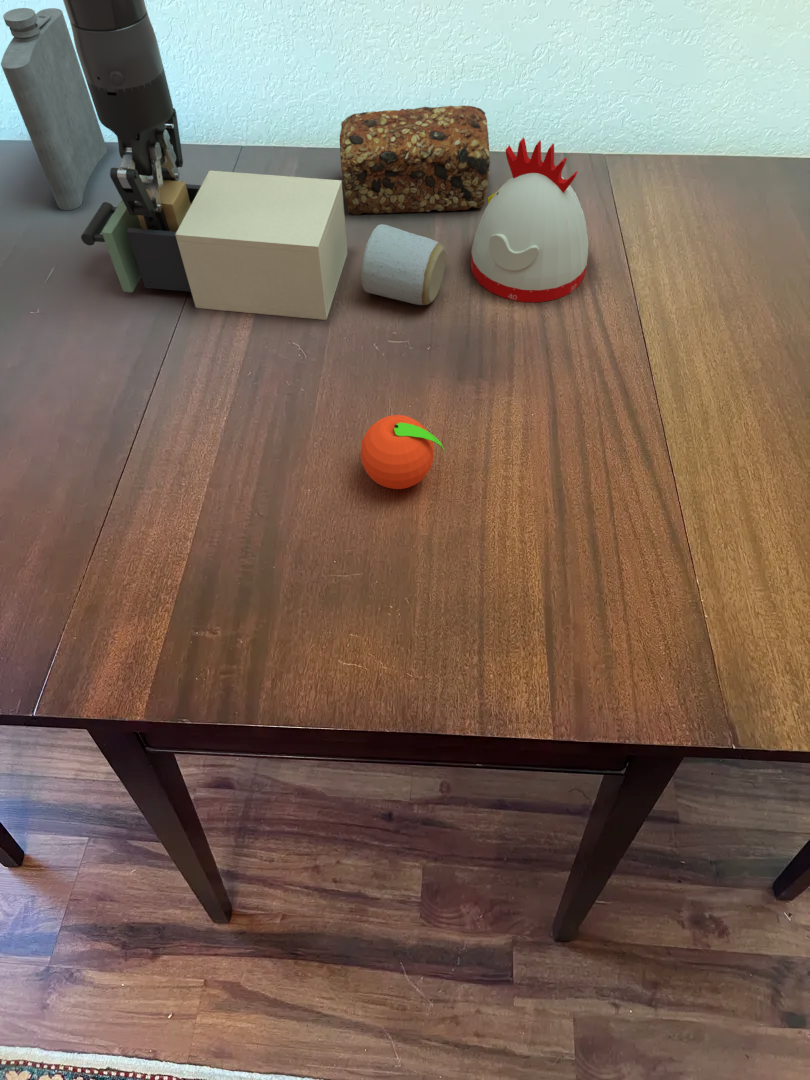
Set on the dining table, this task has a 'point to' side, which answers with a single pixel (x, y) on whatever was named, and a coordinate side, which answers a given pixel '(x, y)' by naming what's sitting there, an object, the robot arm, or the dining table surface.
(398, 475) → the clementine
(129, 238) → the drawer
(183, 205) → the block
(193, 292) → the drawer cabinet
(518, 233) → the kitchen timer
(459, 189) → the bread
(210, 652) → the dining table surface
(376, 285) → the ceramic mug
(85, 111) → the hip flask
